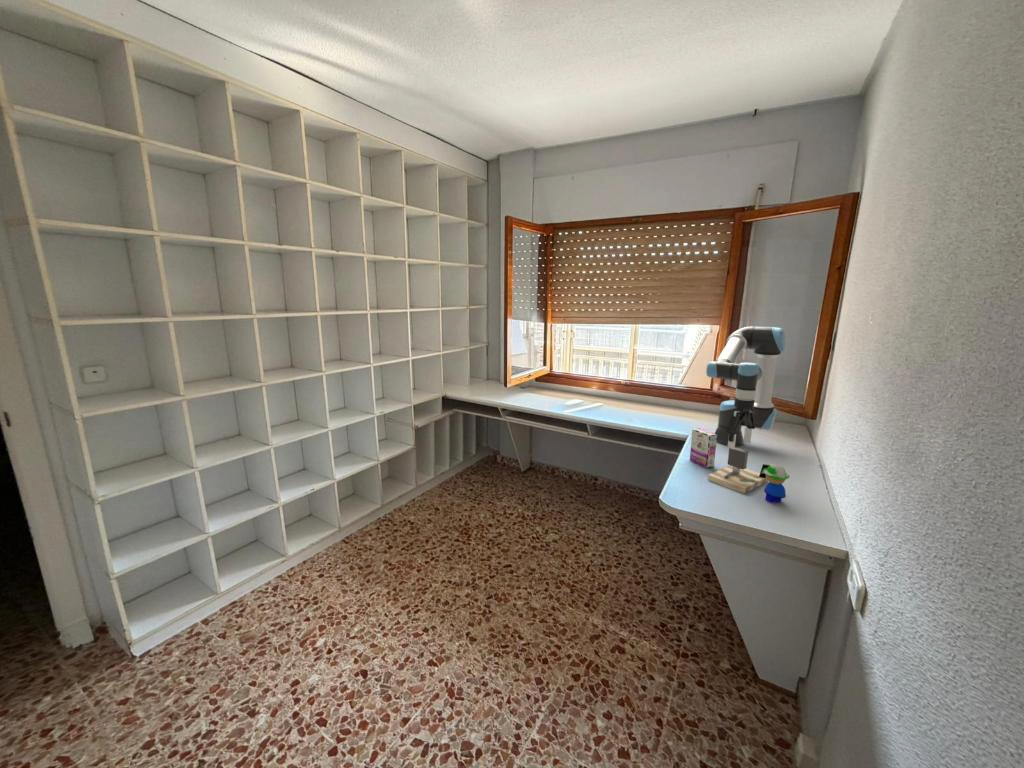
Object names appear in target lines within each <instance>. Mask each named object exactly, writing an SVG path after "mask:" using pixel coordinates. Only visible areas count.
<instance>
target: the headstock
mask: <svg viewBox="0 0 1024 768" xmlns="http://www.w3.org/2000/svg"><path fill="white" fill-rule="evenodd" d="M732 470H733V466H731V465H727V466H725V467H723V468H721V469H718V470H717V471H714V472H711V473H709V474H708V475H707V476H708V477H707V480H708V481H709V482H713V483H716V484H718V485H720V486H723V487H725V488H729V489H730V490H734V491H736V492H738V493H741V494H746V493H749V492H750V491H753V490H754V489H756V488H758V487H760V486H761V485H764V484H765V483H767V482H769V481H768V480H767V479H766V478H761V477H759V475H760V472H759V473H758V472H756V471H754V470H750V469H747V468H746V469H740V474H735V473H734V474H732V475H730V476H728V477H724V475H727V474H729V473H731V472H732Z"/></svg>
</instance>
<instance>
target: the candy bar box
mask: <svg viewBox="0 0 1024 768" xmlns="http://www.w3.org/2000/svg"><path fill="white" fill-rule="evenodd" d="M714 433H715V432H711V431H709V430H706V429H704V428H699V427H697V428H692V432H691V441H690V442H691V443H690V452H689V453H690V454H689V461H691V462H692V463H695V464H697V465H700V466H701V467H703V468H706V469H707V468H708V469H709V468H710V469H711V468H714V467H715V459H716V450H717V434H714Z"/></svg>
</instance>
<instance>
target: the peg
mask: <svg viewBox="0 0 1024 768" xmlns="http://www.w3.org/2000/svg"><path fill="white" fill-rule="evenodd" d="M748 457H749V450H746V449H742V448H738V447H737V446H735V449H731V448H728V457H727V466H730V465H731V466H733V470H732V472H731V473H729V474H727V475H724V477H728V476H730V475H732V474H734V473H735V474H740V469H747V464H748Z"/></svg>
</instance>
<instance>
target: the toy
mask: <svg viewBox="0 0 1024 768" xmlns="http://www.w3.org/2000/svg"><path fill="white" fill-rule="evenodd" d="M760 469H761V470H760V472H759V473H760V475H759V477H761V478H766V479H767V480H768V481H767V482H768V483H767V484H766V485H765V488H764V489H763V491H764V493H765V499H764V500H765V501H766V502H768V503H771V504H772V503H781V502H782V499H785V498H786V497H787V495H786V488H785V486H784V485H783V484H784V482H785V481H786V480H789V479H790V474H789V473H788V472H787V471H786V469H785V468H784V466H782V465H781V464H778V463H774V464H771V465H770V464H762V466H761V468H760Z"/></svg>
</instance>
